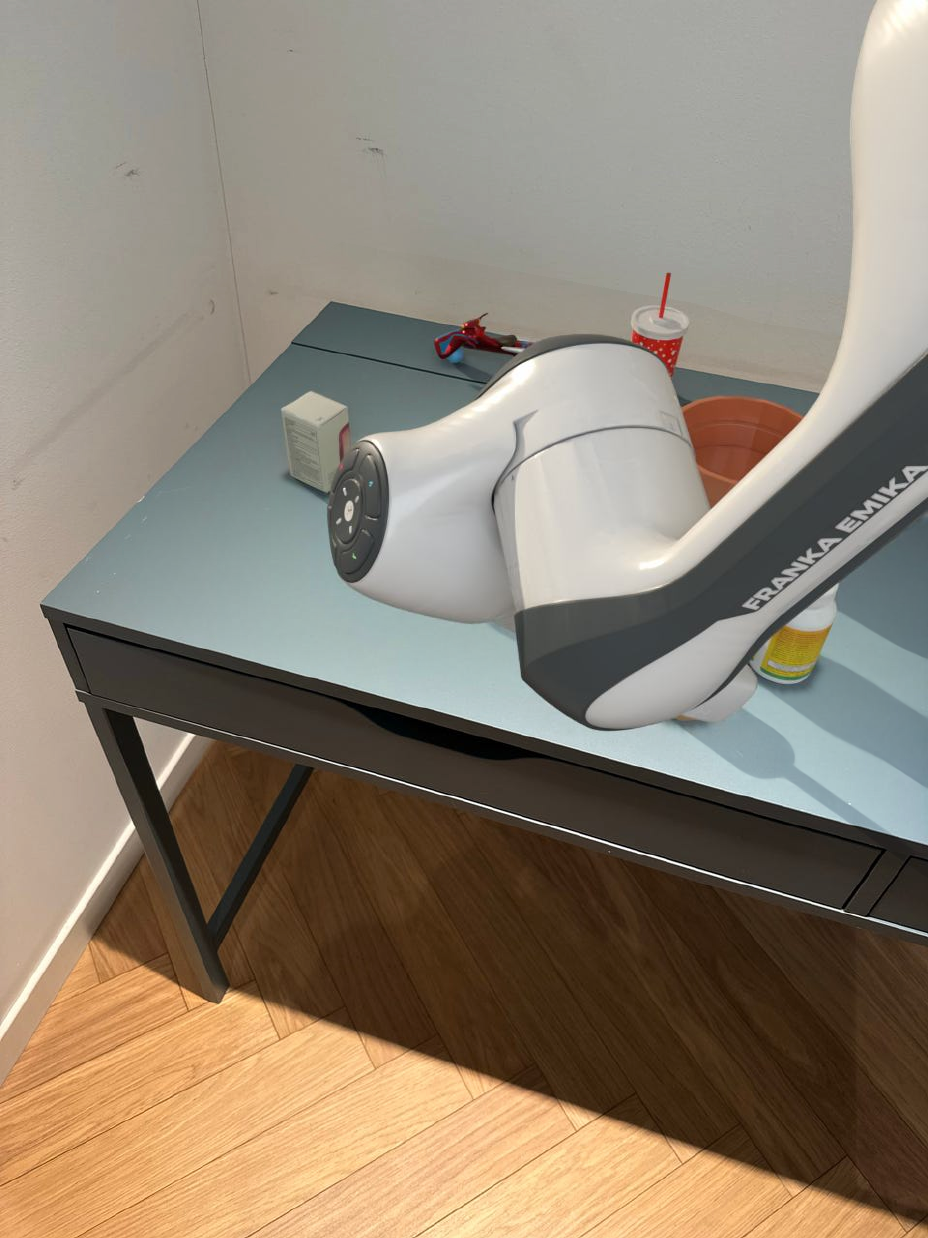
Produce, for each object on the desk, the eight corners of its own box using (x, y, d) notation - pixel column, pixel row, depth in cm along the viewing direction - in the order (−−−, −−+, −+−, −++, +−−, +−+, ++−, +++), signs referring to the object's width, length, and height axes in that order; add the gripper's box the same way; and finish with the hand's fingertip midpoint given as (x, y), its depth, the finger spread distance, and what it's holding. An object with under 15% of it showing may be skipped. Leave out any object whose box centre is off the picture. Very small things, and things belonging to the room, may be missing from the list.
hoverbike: (439, 347, 114) (439, 303, 110) (538, 362, 112) (542, 317, 108) (428, 369, 111) (428, 324, 107) (530, 385, 109) (534, 340, 105)
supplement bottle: (733, 650, 80) (761, 565, 74) (783, 631, 82) (815, 546, 75) (774, 695, 77) (807, 610, 70) (826, 674, 79) (863, 589, 72)
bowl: (833, 477, 98) (851, 428, 94) (780, 559, 89) (797, 508, 85) (695, 428, 104) (706, 379, 99) (632, 500, 94) (641, 449, 90)
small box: (355, 473, 96) (350, 406, 91) (326, 495, 94) (319, 426, 88) (317, 455, 98) (310, 388, 93) (288, 475, 96) (279, 407, 90)
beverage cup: (673, 410, 106) (698, 290, 96) (617, 403, 107) (636, 283, 97) (675, 381, 110) (699, 263, 100) (622, 374, 111) (641, 257, 101)
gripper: (696, 661, 49) (829, 685, 58) (526, 423, 61) (658, 474, 70) (619, 738, 52) (757, 750, 61) (471, 497, 64) (605, 537, 73)
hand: (703, 601), depth 66 cm, fingers open, 8 cm apart
